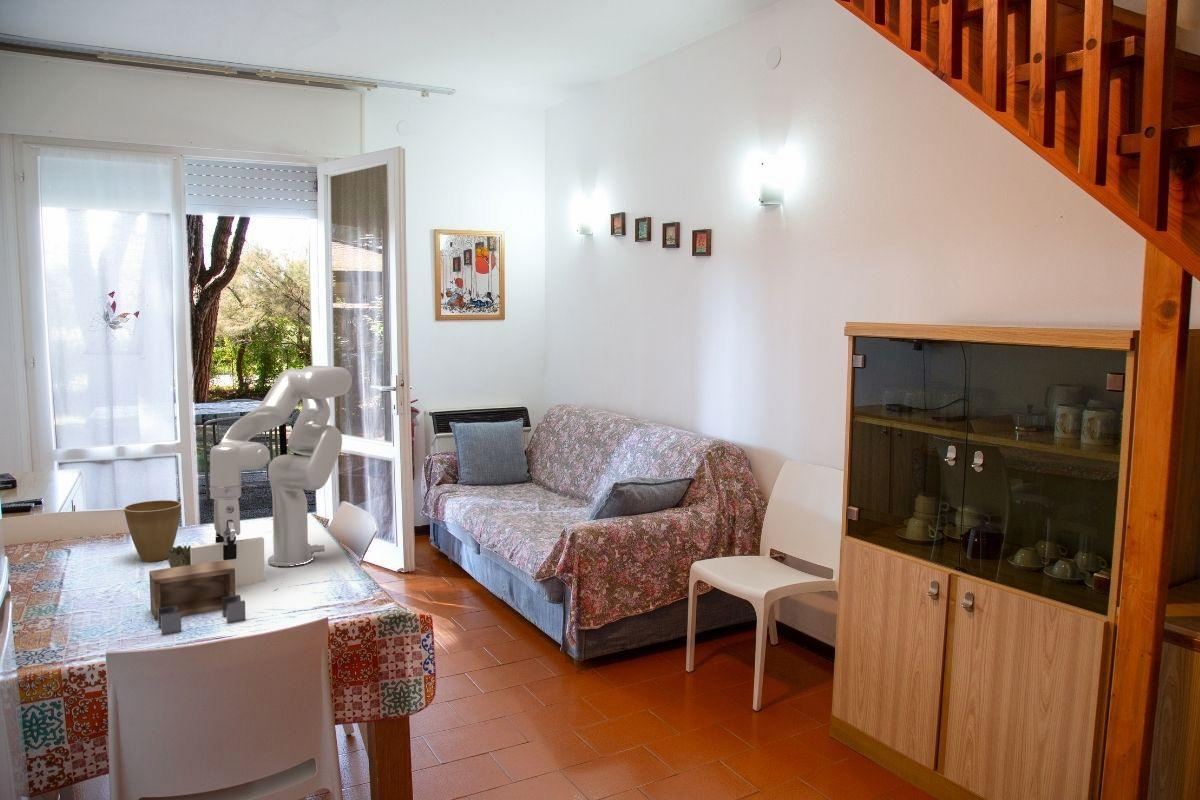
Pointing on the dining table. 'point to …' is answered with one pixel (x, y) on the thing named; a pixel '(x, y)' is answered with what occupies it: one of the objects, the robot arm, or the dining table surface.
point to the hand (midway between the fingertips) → (225, 555)
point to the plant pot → (153, 527)
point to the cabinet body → (192, 587)
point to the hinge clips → (172, 617)
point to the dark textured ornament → (179, 556)
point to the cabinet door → (245, 564)
